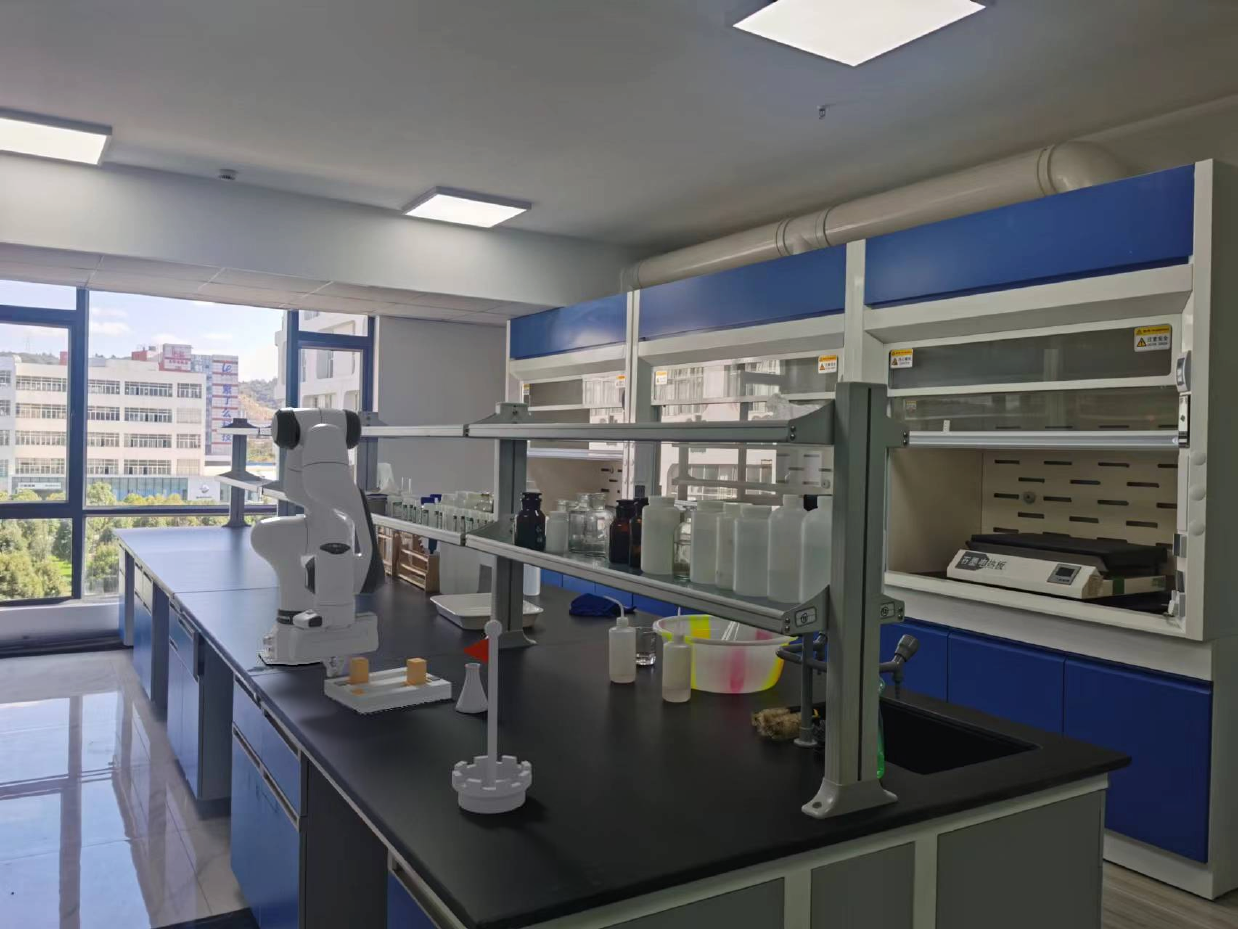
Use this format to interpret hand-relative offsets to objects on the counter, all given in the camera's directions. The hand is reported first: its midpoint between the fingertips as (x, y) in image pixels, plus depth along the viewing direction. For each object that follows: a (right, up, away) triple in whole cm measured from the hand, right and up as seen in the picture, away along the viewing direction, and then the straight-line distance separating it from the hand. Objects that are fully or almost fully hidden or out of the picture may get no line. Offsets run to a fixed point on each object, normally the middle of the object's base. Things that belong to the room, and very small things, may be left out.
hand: (334, 675), depth 211 cm
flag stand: (+44, -8, -58) cm, 73 cm away
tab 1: (+4, -4, +4) cm, 7 cm away
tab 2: (+18, -4, +4) cm, 19 cm away
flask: (+32, -7, -6) cm, 34 cm away
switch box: (+11, -6, +4) cm, 13 cm away
